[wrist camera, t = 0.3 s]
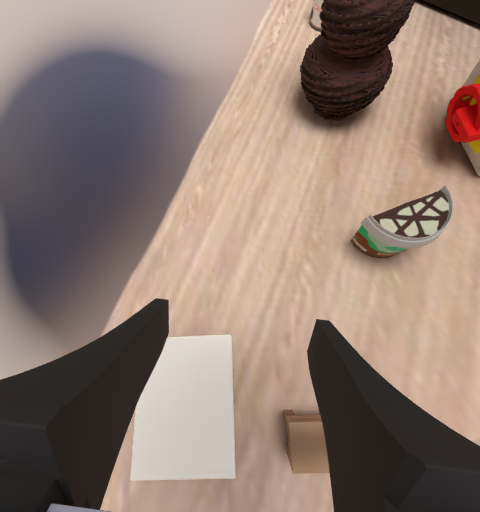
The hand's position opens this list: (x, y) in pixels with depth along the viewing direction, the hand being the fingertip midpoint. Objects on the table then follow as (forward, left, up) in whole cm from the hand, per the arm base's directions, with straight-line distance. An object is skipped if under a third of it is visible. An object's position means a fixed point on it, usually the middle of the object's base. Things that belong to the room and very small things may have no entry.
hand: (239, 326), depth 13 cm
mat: (-8, +10, -29) cm, 32 cm away
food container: (+14, -23, -29) cm, 40 cm away
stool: (-12, -8, -29) cm, 32 cm away
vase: (+45, -19, -29) cm, 57 cm away
